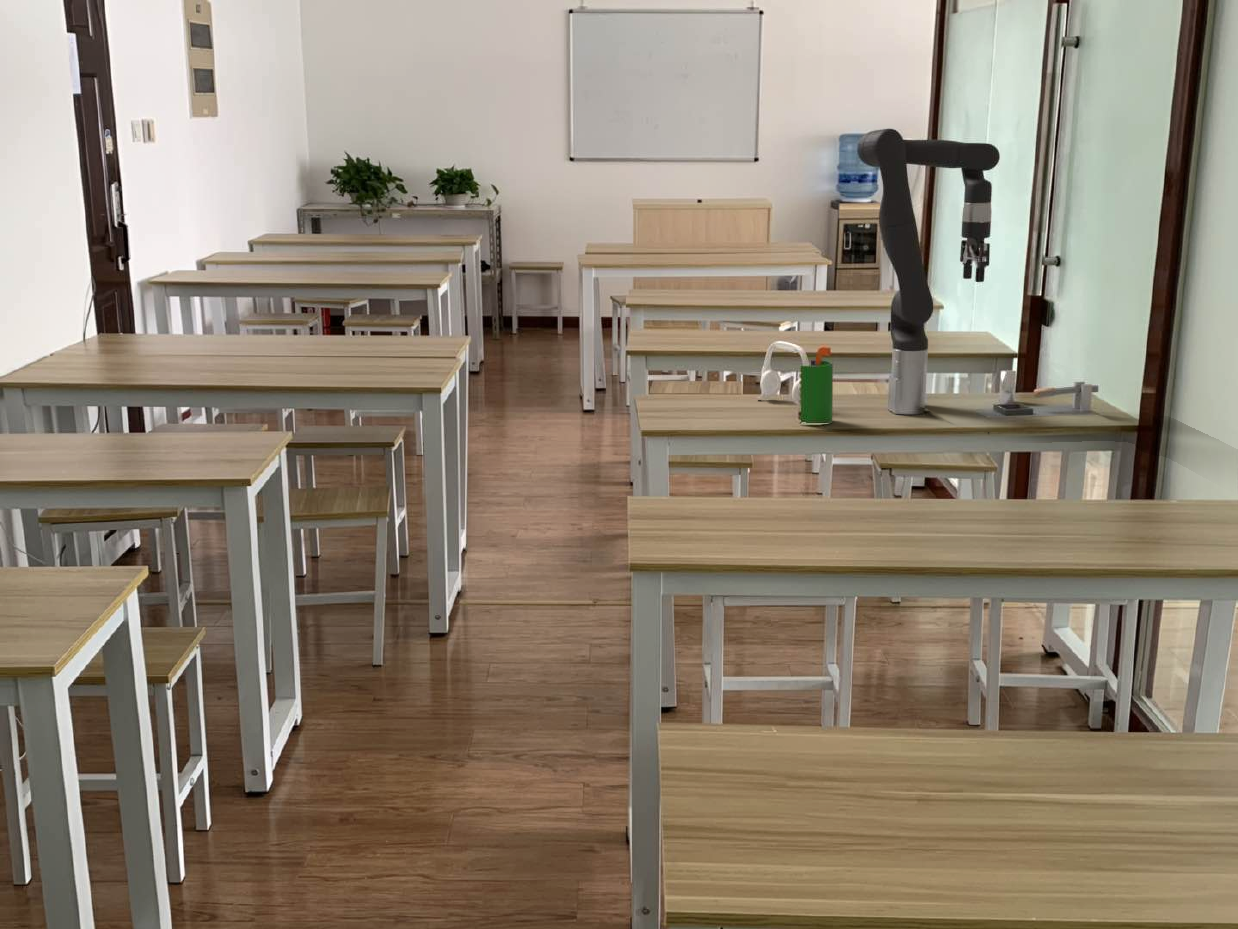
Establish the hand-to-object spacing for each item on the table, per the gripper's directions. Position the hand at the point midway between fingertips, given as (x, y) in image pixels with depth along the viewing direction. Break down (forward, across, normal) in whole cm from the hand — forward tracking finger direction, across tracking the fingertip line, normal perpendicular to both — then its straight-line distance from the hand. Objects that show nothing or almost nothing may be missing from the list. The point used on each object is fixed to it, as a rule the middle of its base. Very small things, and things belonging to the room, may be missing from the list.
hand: (973, 280), depth 338 cm
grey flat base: (+34, +21, +10) cm, 41 cm away
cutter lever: (+28, +21, +19) cm, 40 cm away
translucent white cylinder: (+34, +8, +8) cm, 36 cm away
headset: (+34, -7, -50) cm, 61 cm away
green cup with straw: (+34, +16, -48) cm, 61 cm away
